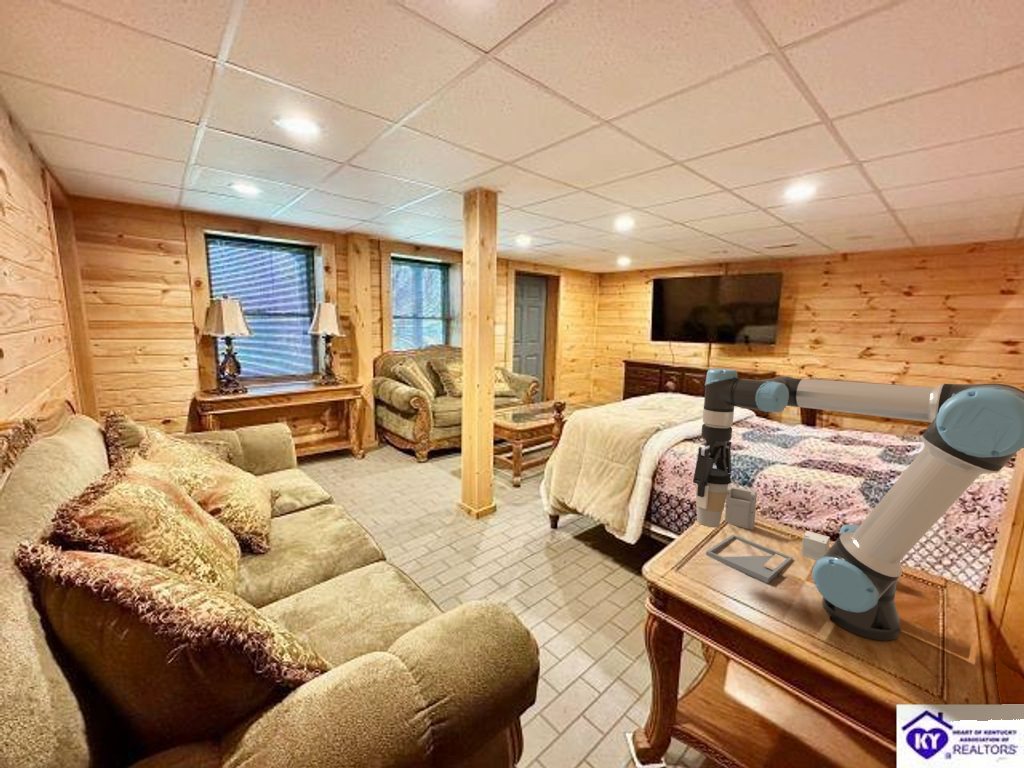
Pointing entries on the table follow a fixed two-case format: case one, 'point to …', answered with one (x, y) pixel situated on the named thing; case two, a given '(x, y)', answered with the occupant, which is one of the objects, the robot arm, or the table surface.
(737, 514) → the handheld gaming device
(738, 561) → the grey tray
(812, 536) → the skincare box
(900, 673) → the table surface
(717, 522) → the coffee cup
